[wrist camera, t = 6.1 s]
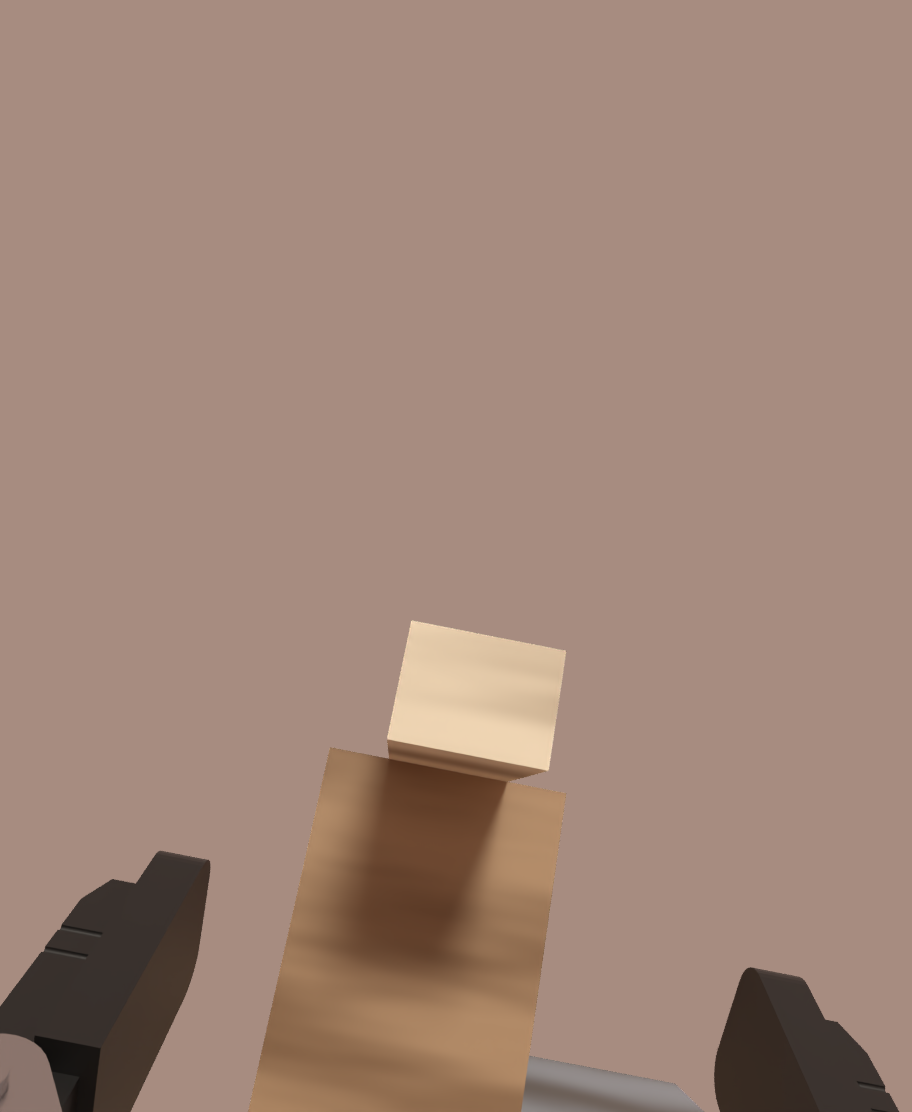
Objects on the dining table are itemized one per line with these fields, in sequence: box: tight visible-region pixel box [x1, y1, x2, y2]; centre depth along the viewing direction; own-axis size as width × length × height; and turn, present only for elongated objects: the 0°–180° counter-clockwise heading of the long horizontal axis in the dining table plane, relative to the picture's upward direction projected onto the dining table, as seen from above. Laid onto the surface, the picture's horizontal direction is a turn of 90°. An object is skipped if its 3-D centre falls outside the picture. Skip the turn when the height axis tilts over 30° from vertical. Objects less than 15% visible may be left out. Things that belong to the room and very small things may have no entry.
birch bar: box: [387, 621, 566, 782], centre depth 31 cm, size 20×4×3 cm, turn 4°
